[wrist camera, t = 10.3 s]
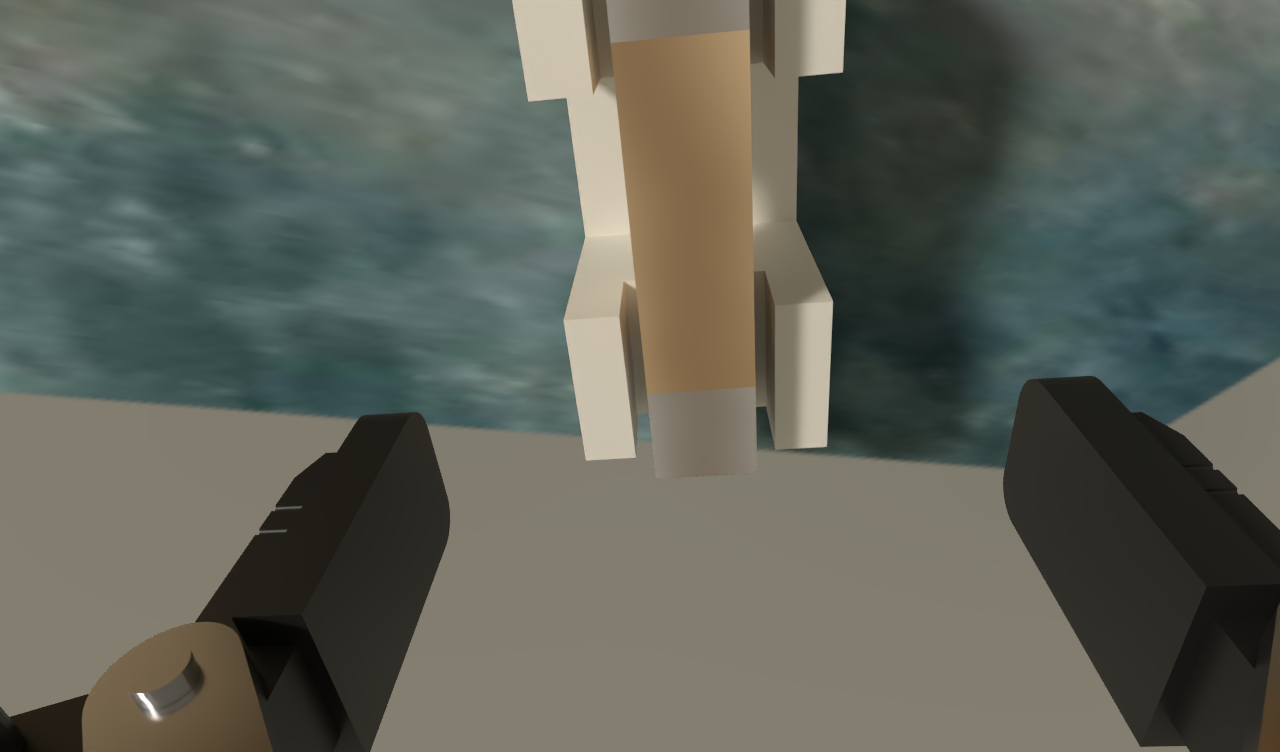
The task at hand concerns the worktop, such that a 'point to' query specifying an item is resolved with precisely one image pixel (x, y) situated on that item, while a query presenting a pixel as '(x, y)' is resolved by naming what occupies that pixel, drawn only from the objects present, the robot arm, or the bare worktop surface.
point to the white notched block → (605, 281)
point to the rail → (691, 224)
